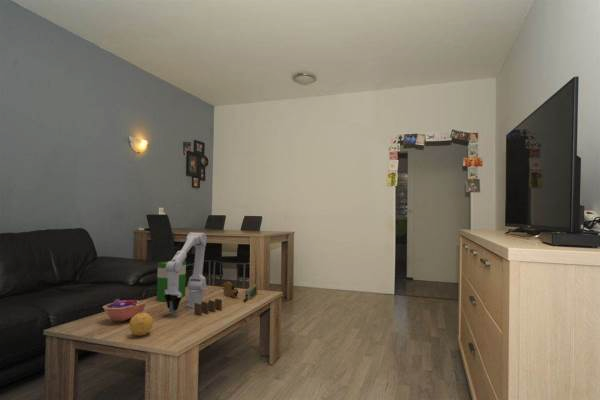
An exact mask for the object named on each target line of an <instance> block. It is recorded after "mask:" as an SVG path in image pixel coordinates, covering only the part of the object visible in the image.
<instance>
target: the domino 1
mask: <svg viewBox="0 0 600 400" xmlns="http://www.w3.org/2000/svg"><path fill="white" fill-rule="evenodd" d="M168 310H169V311H168V312H169V313H171V314H173V315H174V314H177V310H173V304H172V300H171V301H169V308H168Z"/></svg>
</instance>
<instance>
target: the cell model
mask: <svg viewBox="0 0 600 400" xmlns="http://www.w3.org/2000/svg"><path fill="white" fill-rule="evenodd" d="M145 307H146V301H145V300H139V299H138V300H137V299H133V300H132V299H127V300H125V299H124V300H121V299H120V298H117V299H115V300H113V302H110V303H107V304H105V305H103V306H102V308H103V309H104V311H105V313H106V315H107V316H108V318H109V319H110V320H111V321H113V322H124V321H127V320H131V319H132V317H133V316H135V315H136V314H137V313H141V312H143V313H144V311H145Z"/></svg>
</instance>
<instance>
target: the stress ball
mask: <svg viewBox="0 0 600 400" xmlns="http://www.w3.org/2000/svg"><path fill="white" fill-rule="evenodd" d="M128 325H129V326H128V327H129V330H130V332H131V333H132V334H133V335H134V336H140V337H141V336H145V335H147V334H148V333H149V332H150V331H151V330H152V328H153V326H154V319H153V317H152V316H151V315H150V314H149V313H147V312H144V311H143V312H141V313H137V314H136V315H135V316H133V317H132V318H131V319H129V322H128Z"/></svg>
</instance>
